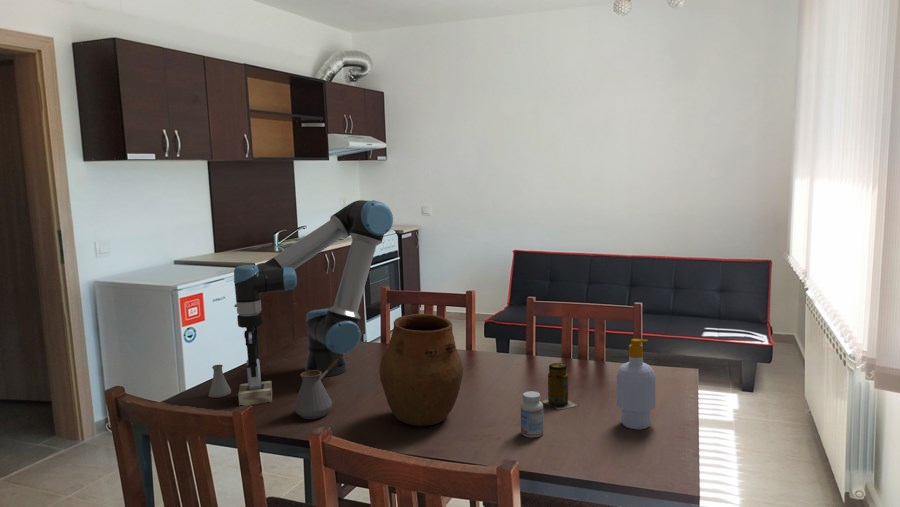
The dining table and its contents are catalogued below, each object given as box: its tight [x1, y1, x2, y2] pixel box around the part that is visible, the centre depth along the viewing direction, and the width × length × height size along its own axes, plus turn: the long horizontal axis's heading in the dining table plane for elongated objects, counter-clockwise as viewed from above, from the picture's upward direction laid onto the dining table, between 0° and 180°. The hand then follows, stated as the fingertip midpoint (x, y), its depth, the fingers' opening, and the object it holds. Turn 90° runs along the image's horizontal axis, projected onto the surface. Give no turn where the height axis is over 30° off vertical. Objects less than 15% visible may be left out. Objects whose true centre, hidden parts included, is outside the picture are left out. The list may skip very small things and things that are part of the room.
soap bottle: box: [616, 338, 657, 430], centre depth 177 cm, size 10×10×24 cm
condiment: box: [541, 362, 578, 411], centre depth 196 cm, size 7×8×12 cm
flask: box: [208, 364, 232, 399], centre depth 216 cm, size 7×7×10 cm
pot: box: [379, 313, 464, 427], centre depth 186 cm, size 24×24×30 cm
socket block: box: [237, 380, 273, 407], centre depth 211 cm, size 10×10×4 cm
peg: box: [246, 359, 262, 391], centre depth 210 cm, size 4×4×12 cm
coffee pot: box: [293, 353, 348, 420], centre depth 199 cm, size 21×12×15 cm, turn 149°
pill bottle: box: [520, 390, 545, 439], centre depth 175 cm, size 6×6×11 cm
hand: (255, 383), depth 211 cm, fingers closed on peg, 4 cm apart
